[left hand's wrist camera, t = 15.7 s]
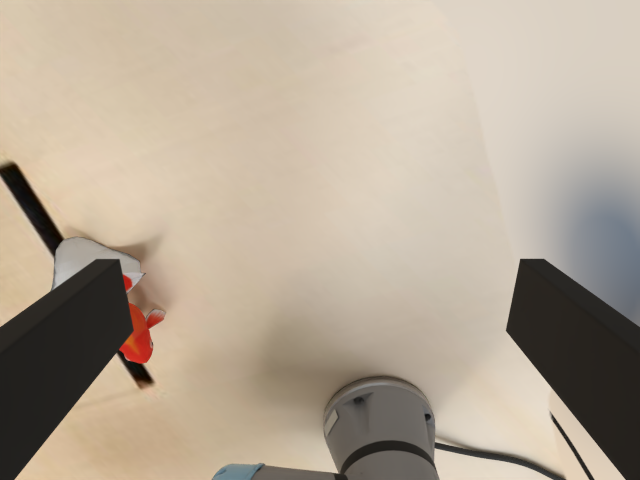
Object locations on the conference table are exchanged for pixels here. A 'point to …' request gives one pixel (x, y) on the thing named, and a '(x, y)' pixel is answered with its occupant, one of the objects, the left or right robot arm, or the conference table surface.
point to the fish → (84, 251)
